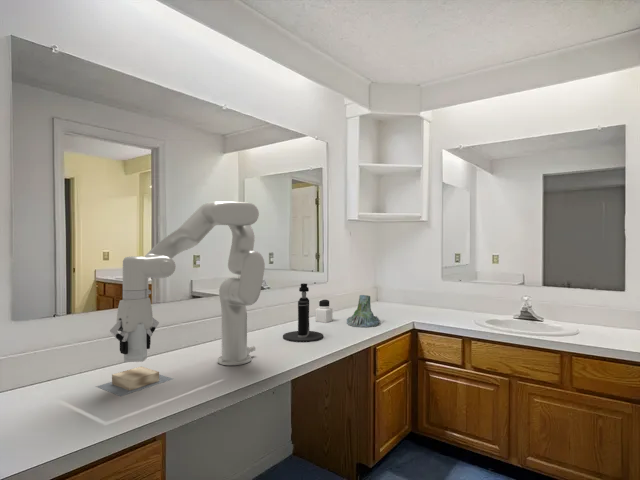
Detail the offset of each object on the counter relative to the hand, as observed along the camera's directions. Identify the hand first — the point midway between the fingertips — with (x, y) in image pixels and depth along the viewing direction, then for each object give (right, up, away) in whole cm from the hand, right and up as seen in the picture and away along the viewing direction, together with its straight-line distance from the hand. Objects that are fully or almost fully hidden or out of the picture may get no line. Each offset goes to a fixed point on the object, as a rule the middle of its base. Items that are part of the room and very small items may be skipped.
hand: (135, 350), depth 131 cm
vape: (+51, -11, +64) cm, 82 cm away
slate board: (0, -11, 0) cm, 11 cm away
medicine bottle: (+61, -11, +101) cm, 119 cm away
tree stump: (+83, -11, +95) cm, 126 cm away
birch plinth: (0, -10, 0) cm, 10 cm away
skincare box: (0, -3, 0) cm, 3 cm away
